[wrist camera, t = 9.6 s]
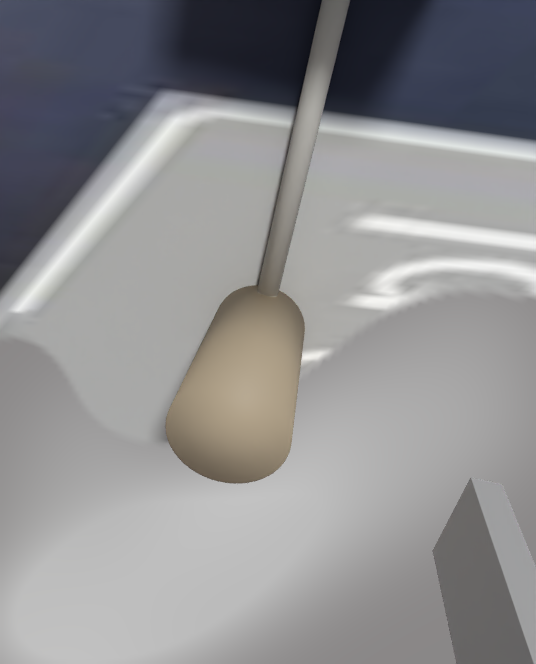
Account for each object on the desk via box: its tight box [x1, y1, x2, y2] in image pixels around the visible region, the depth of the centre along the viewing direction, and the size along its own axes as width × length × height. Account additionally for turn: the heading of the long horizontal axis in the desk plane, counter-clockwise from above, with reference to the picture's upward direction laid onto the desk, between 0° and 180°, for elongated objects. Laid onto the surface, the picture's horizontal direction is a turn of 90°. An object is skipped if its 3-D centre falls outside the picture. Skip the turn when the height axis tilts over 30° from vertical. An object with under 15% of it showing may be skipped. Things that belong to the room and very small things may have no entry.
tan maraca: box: [166, 0, 350, 483], centre depth 11 cm, size 6×21×6 cm, turn 168°
